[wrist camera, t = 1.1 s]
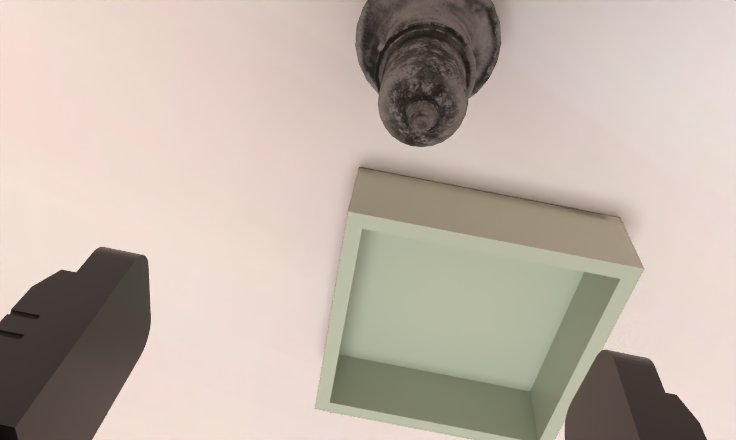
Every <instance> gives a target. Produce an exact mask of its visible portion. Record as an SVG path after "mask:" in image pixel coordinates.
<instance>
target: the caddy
mask: <svg viewBox="0 0 736 440" xmlns="http://www.w3.org/2000/svg"><path fill="white" fill-rule="evenodd" d="M643 270H644V267H643V265H642V263H641V261H640V259H639V257H638V255H637V253H636V250H635V248H634V246H633V244H632V242H631V240H630V238H629V236H628V234H627V231H626V229H625V227H624V225H623V223H622V221H621V219H620V218H619V217H614V216H609V215H603V214H598V213H593V212H588V211H583V210H578V209H572V208H567V207H562V206H557V205H552V204H547V203H541V202H536V201H531V200H526V199H521V198H516V197H510V196H505V195H500V194H495V193H490V192H484V191H479V190H474V189H469V188H464V187H459V186H453V185H448V184H443V183H438V182H433V181H428V180H422V179H417V178H412V177H407V176H402V175H397V174H391V173H386V172H381V171H376V170H371V169H366V168H360V167H359V170H358V174H357V178H356V182H355V186H354V190H353V194H352V198H351V201H350V205H349V209H348V214H347V220H346V226H345V232H344V238H343V244H342V250H341V256H340V262H339V267H338V273H337V279H336V285H335V291H334V297H333V303H332V309H331V315H330V321H329V327H328V333H327V339H326V345H325V351H324V357H323V362H322V368H321V374H320V380H319V386H318V392H317V398H316V404H315V409H318V410H323V411H328V412H333V413H338V414H344V415H349V416H354V417H359V418H364V419H369V420H374V421H379V422H385V423H390V424H395V425H400V426H405V427H410V428H415V429H421V430H426V431H431V432H436V433H441V434H446V435H451V436H457V437H462V438H467V439H472V440H555V439H556V437H557V435H558V433H559V431H560V429H561V427H562V425H563V423H564V421H565V419H566V415H567V411H568V408H569V405H570V403H571V401H572V400H573V398H574V396H575V394H576V392H577V391H578V389H579V387H580V385H581V383H582V381H583V380H584V378H585V376H586V374H587V372H588V371H589V369H590V367H591V365H592V363H593V361H594V360H595V358H596V356H597V355H598V354H599V352H601V351H602V349H603V347H604V345H605V343H606V341H607V339H608V337H609V335H610V333H611V332H612V330H613V328H614V326H615V324H616V322H617V320H618V318H619V316H620V314H621V312H622V310H623V309H624V307H625V305H626V303H627V301H628V299H629V297H630V295H631V293H632V291H633V289H634V288H635V286H636V284H637V282H638V280H639V278H640V276H641V274H642V272H643Z"/></svg>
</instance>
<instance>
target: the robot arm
mask: <svg viewBox="0 0 736 440" xmlns="http://www.w3.org/2000/svg"><path fill="white" fill-rule="evenodd" d="M150 323H151V313H150V290H149V268H148V260H147V258H146V256H144V255H140V254H135V253H130V252H126V251H121V250H116V249H111V248H106V247H99V248H97V249H96V250H95V251H94V252H93V253H92V254H91V256H90V257H89V258H88V259H87V260H86V262H85V263H84V264H83V265H82V266H81V268H80V269H79V270H78V271H77V272H71V271H66V270H60V271H58V272H57V273H55V274H53V275H52V276H50V277H48V278H46V279H45V280H43V281H41V282H39V283H38V284H36V285H34V286H32V287H31V288H30V289H29V291H28V292H27V293H26V294H25V295H24V296H23V297H22V298H21V299H20V300H19V302H18V303H17V304H16V305H15V306H14V307H13V308H12V309H11V313H10V315H8V314H7V315H6V316H5V317H4V318H3V319H2V320H1V322H0V440H92V439H93V437H94V435H95V434H96V432H97V430H98V428H99V427H100V425H101V423H102V421H103V420H104V418H105V416H106V415H107V413H108V411H109V409H110V408H111V406H112V404H113V402H114V401H115V399H116V397H117V395H118V394H119V392H120V390H121V389H122V387H123V385H124V383H125V382H126V380H127V378H128V376H129V375H130V373H131V371H132V370H133V368H134V366H135V364H136V363H137V361H138V359H139V357H140V356H141V354H142V352H143V350H144V347H145V345H146V342H147V339H148V335H149V330H150ZM565 440H707V439H706V437H705V434H704V432H703V430H702V427H701V425H700V423H699V422H698V420H697V419H696V418H695V417H694V416H693V414H692V413H691V412H690V411H689V409H688V408H687V407H686V406H685V405H684V403H683V402H682V401H681V400H680V399H679V397H678V396H677V395H674V394H669V393H665V391H664V388H663V386H662V383H661V381H660V378H659V376H658V373H657V371H656V368H655V366H654V364H653V363H652V361H651V360H650V359H648V358H644V357H639V356H634V355H629V354H624V353H619V352H614V351H610V350H602V351H601V352H599V354H598V355H597V356H596V358H595V360H594V361H593V363H592V365H591V367H590V369H589V371H588V372H587V374H586V376H585V378H584V380H583V381H582V383H581V385H580V387H579V389H578V391H577V392H576V394H575V396H574V398H573V400H572V401H571V403H570V405H569V408H568V411H567V415H566V420H565Z"/></svg>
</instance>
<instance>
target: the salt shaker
mask: <svg viewBox="0 0 736 440" xmlns="http://www.w3.org/2000/svg"><path fill="white" fill-rule="evenodd" d="M500 45H501V33H500V22H499V19H498V16H497V13H496V11H495V8H494V5H493V3H492V2H491V0H368V1H367V3H366V4H365V6H364V7H363V9H362V12H361V15H360V18H359V21H358V24H357V30H356V44H355V46H356V51H357V56H358V61H359V65H360V67H361V69H362V71H363V73H364V75H365V77H366V79H367V81H368V82H369V83H370V84H371V86H372V87H373V88H374V89H375V90H376V91H377V93H378V94H379V99H378V107H379V113H380V117H381V119H382V122H383V124H384V126H385V128H386V129H387V130H388V131H389V133H390V134H391V135H392V136H393V137H395V138H396V139H397V140H399V141H400V142H402V143H405V144H408V145H410V146H418V147H425V146H433V145H435V144H438V143H441V142H443V141H444V140H446V139H447V138H449V137H450V136H452V135H453V134H454V132H455V131H456V130H457V129H458V128H459V127H460V125H461V123H462V121H463V119H464V117H465V115H466V111H467V106H468V98H470V97H471V96H473V95H474V94H475V93H477V92H478V91H479V89H480V88H481V87H482V86H483V85H484V84H485V82H486V81H487V80H488V79H489V77H490V75H491V73H492V71H493V69H494V67H495V65H496V63H497V60H498V55H499V50H500Z"/></svg>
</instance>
